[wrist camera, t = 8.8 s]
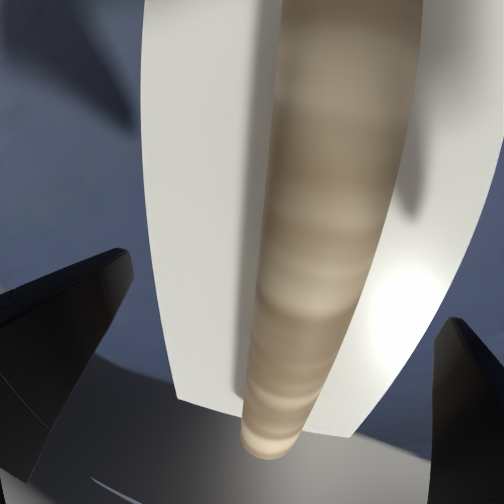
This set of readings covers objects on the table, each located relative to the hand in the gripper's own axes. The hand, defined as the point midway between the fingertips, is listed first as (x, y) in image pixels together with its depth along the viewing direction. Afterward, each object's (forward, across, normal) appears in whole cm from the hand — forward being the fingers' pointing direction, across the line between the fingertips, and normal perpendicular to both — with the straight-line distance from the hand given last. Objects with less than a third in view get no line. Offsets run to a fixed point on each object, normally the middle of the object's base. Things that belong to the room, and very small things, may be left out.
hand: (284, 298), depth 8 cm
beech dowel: (+1, -1, 0) cm, 1 cm away
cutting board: (+4, 0, 0) cm, 4 cm away
